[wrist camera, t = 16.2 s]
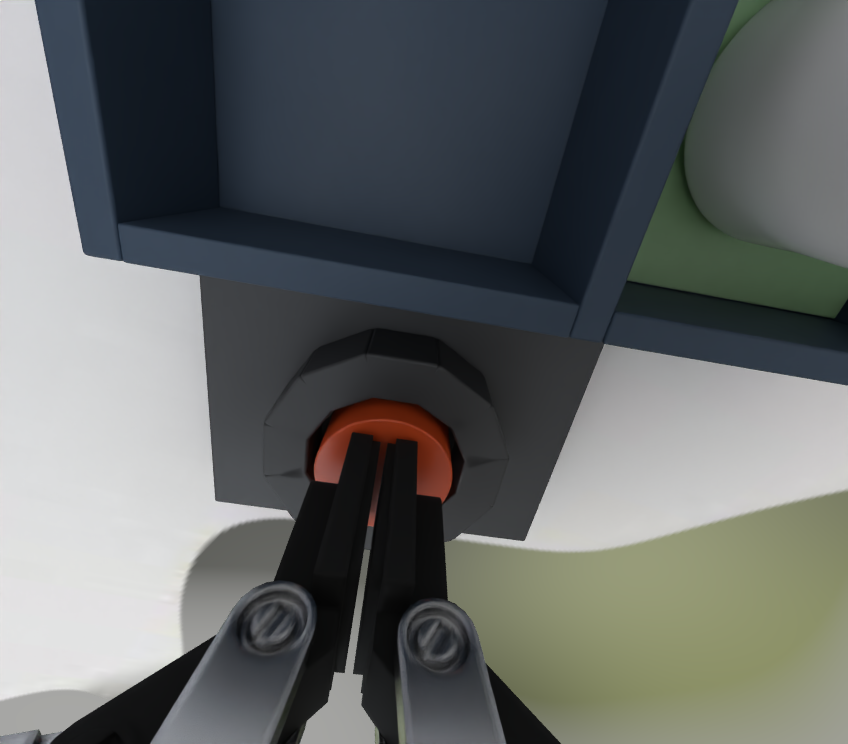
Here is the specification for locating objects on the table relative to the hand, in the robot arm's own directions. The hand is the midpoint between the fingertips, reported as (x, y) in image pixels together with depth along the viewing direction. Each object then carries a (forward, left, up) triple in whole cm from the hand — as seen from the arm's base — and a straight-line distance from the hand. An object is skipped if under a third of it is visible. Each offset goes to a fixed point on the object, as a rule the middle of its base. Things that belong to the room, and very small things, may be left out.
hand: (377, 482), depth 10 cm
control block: (0, 0, -4) cm, 4 cm away
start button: (0, 0, -2) cm, 2 cm away
